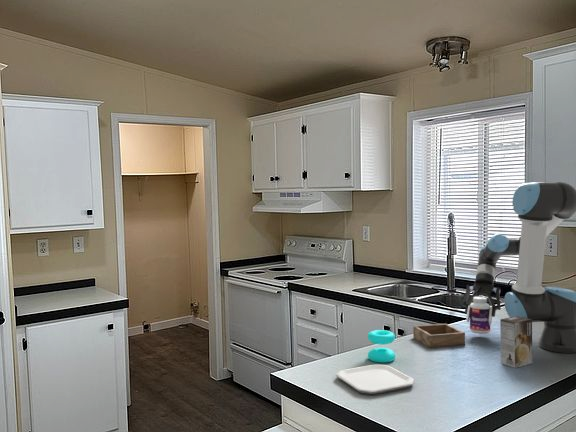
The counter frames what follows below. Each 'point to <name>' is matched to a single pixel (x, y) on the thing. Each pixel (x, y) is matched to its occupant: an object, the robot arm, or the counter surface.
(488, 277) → the robot arm
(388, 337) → the donuts
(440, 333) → the crate
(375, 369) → the plate
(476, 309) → the pill bottle
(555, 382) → the counter surface
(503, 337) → the coffee box
